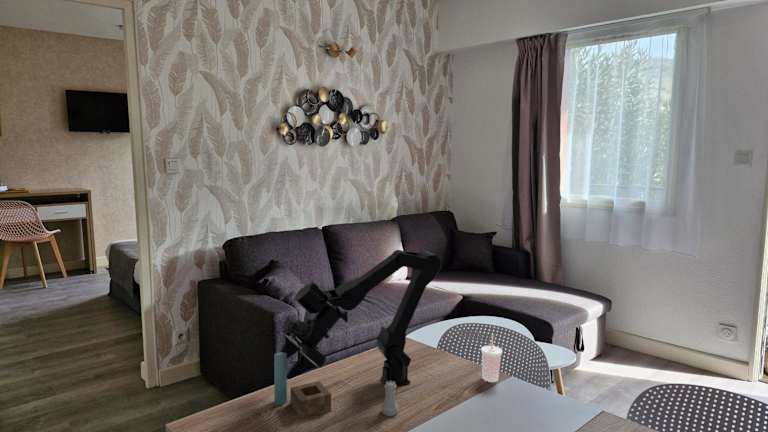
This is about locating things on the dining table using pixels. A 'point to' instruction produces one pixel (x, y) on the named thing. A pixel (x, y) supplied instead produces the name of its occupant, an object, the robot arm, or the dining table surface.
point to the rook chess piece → (390, 400)
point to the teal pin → (280, 378)
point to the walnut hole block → (310, 399)
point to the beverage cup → (491, 362)
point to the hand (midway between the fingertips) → (281, 371)
